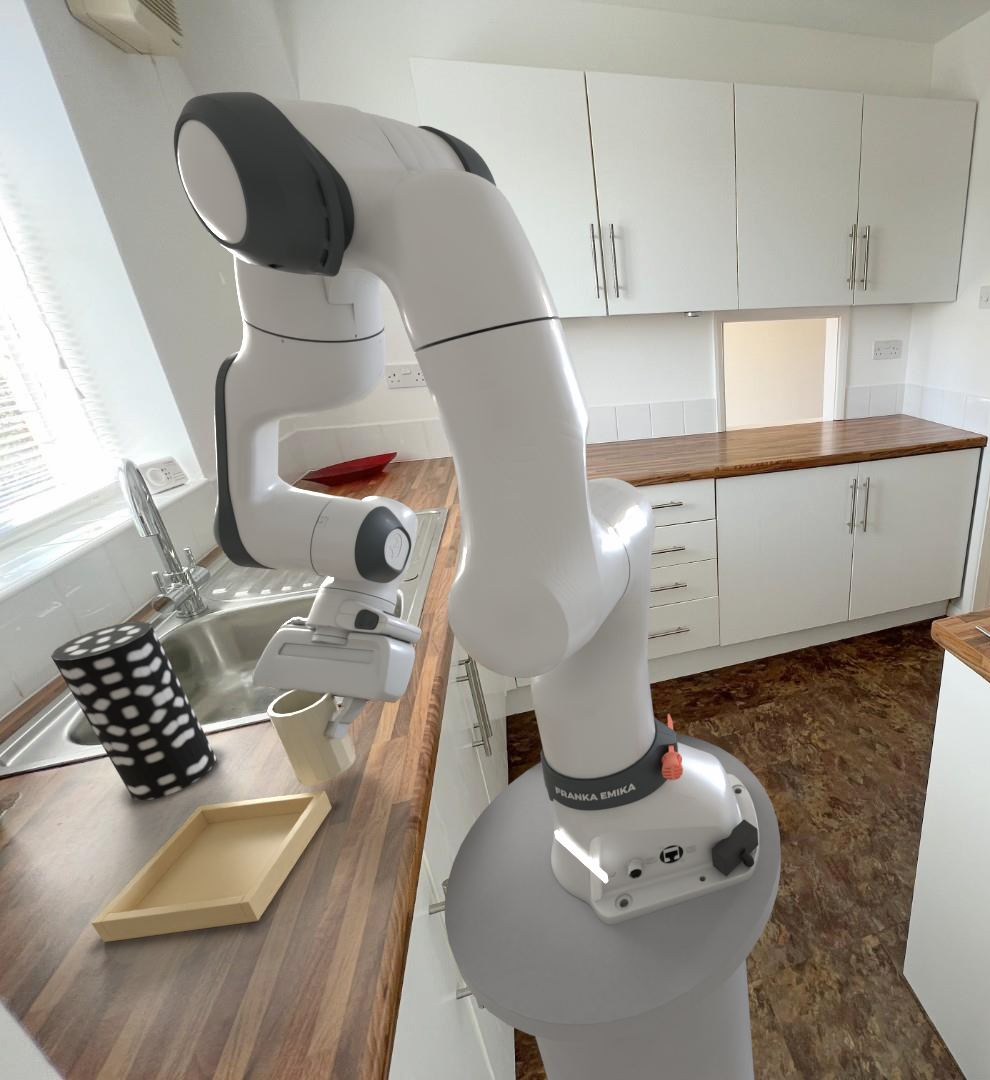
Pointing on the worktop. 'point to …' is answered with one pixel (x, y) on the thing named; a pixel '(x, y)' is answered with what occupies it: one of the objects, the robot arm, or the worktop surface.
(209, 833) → the tray
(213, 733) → the worktop surface
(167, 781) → the spotted tube
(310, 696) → the cup
